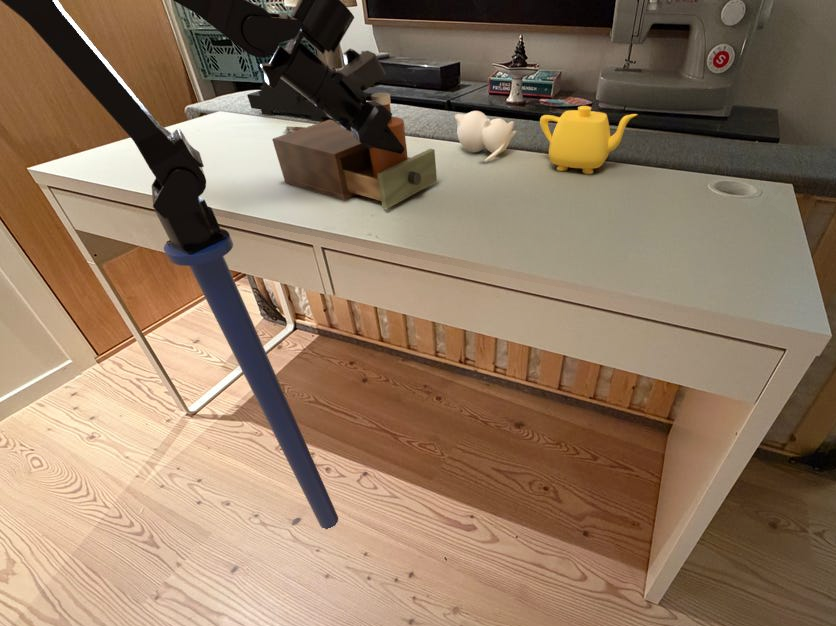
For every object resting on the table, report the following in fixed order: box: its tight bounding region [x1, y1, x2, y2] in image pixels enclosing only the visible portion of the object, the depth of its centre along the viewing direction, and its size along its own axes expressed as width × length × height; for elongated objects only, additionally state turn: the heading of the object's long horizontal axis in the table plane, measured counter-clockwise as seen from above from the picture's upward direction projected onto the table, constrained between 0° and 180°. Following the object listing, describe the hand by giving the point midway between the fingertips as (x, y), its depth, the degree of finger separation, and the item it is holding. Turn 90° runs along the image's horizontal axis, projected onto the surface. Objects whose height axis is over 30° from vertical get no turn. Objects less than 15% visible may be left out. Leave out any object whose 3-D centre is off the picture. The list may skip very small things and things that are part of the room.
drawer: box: [340, 148, 438, 210], centre depth 82 cm, size 18×14×6 cm
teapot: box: [539, 105, 638, 175], centre depth 89 cm, size 18×11×11 cm, turn 71°
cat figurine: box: [454, 110, 517, 164], centre depth 96 cm, size 9×11×12 cm
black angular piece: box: [246, 76, 331, 122], centre depth 121 cm, size 12×29×10 cm, turn 67°
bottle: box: [369, 92, 408, 178], centre depth 79 cm, size 6×6×14 cm
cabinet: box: [271, 119, 367, 201], centre depth 86 cm, size 16×14×8 cm
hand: (395, 145), depth 80 cm, fingers closed on bottle, 6 cm apart
